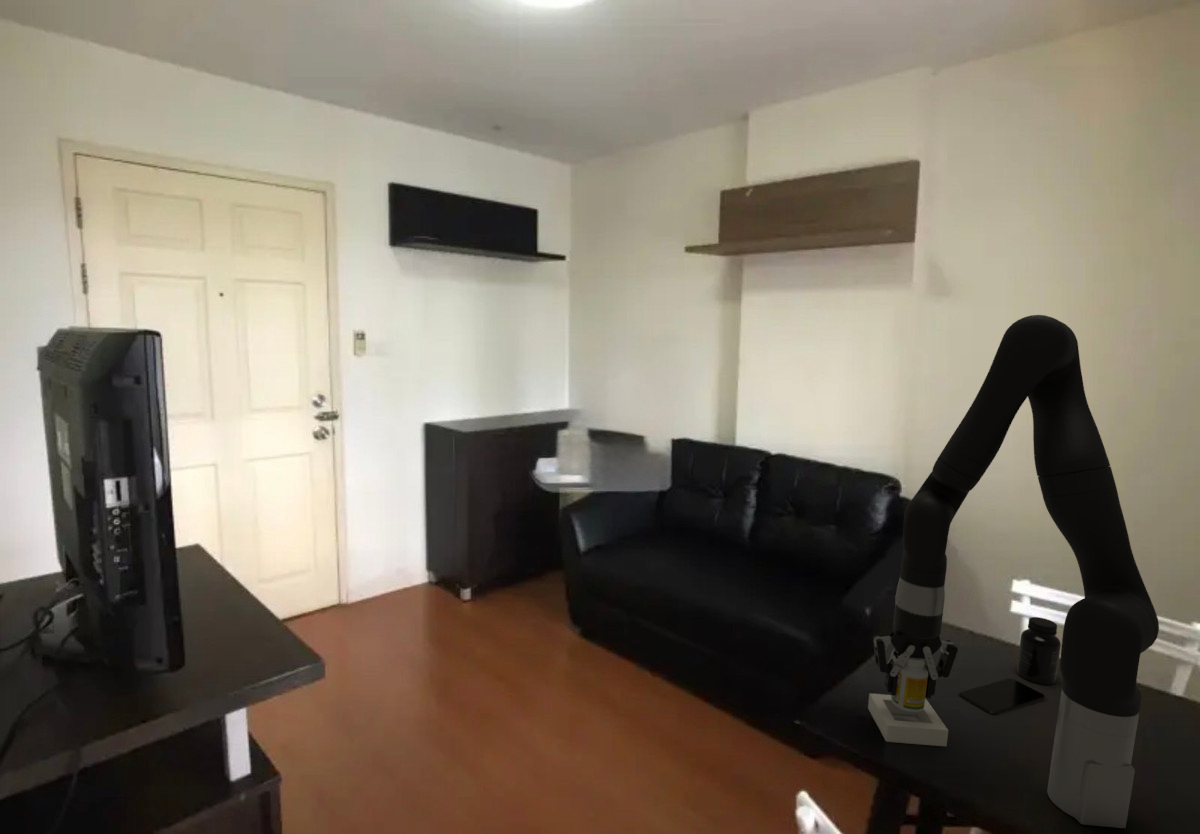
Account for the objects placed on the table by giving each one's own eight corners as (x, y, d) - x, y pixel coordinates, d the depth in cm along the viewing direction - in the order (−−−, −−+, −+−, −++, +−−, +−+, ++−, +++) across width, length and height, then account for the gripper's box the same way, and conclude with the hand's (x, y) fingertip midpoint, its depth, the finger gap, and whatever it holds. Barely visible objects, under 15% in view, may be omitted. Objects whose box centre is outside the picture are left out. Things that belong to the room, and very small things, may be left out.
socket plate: (946, 746, 114) (948, 730, 113) (886, 741, 114) (887, 725, 114) (923, 712, 124) (925, 697, 123) (868, 708, 124) (869, 693, 124)
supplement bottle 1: (885, 702, 119) (890, 652, 118) (900, 693, 122) (905, 644, 121) (915, 717, 115) (921, 665, 113) (929, 706, 118) (935, 656, 117)
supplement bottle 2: (1045, 670, 141) (1052, 616, 139) (1062, 687, 134) (1070, 631, 132) (1010, 666, 142) (1017, 613, 140) (1025, 683, 135) (1033, 627, 133)
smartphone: (992, 718, 123) (1048, 700, 130) (993, 714, 123) (1049, 696, 129) (955, 696, 130) (1009, 680, 137) (955, 692, 130) (1010, 676, 137)
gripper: (883, 610, 113) (873, 703, 115) (972, 617, 111) (960, 710, 114) (869, 592, 120) (861, 680, 123) (952, 598, 119) (942, 686, 121)
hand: (908, 694), depth 118 cm, fingers closed on supplement bottle 1, 5 cm apart
